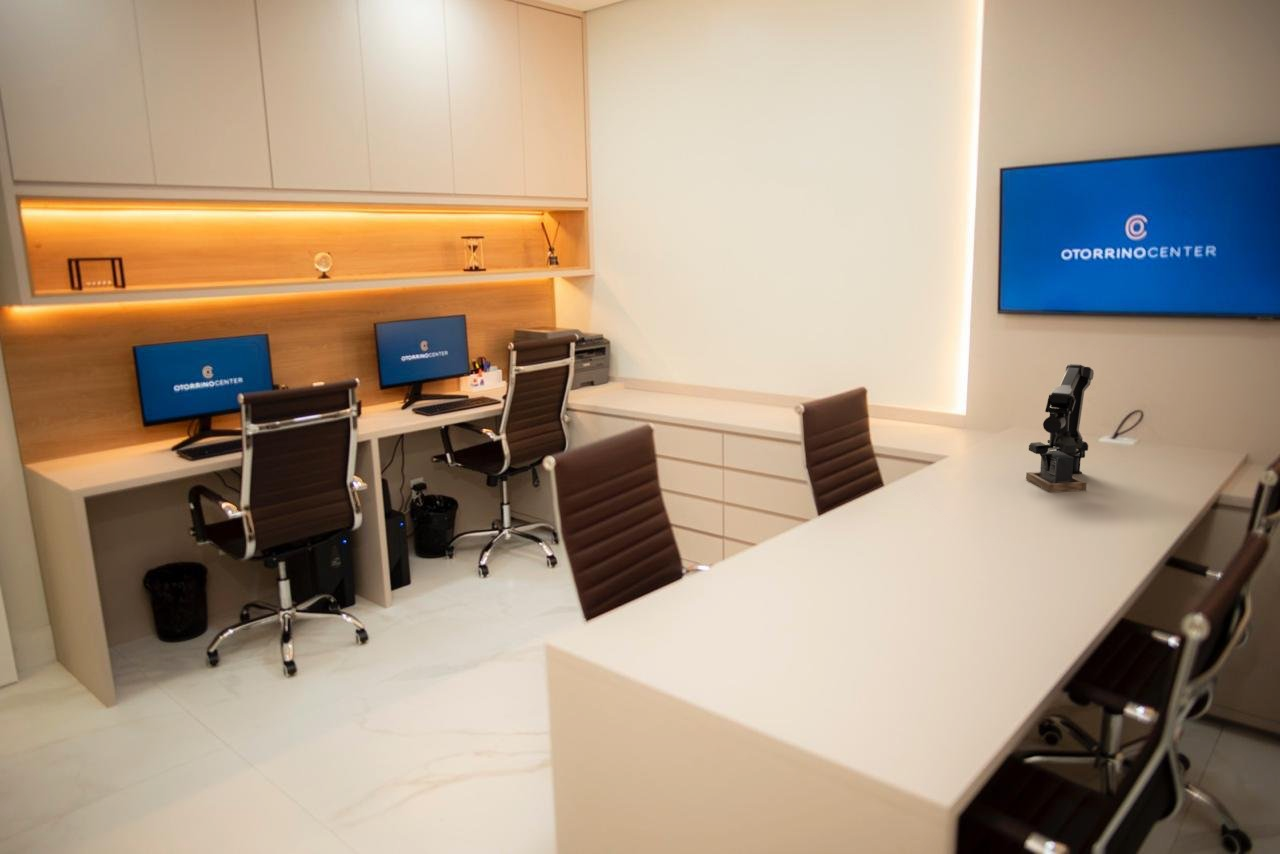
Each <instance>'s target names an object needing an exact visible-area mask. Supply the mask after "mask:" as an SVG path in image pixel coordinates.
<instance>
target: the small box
mask: <svg viewBox="0 0 1280 854" xmlns="http://www.w3.org/2000/svg"><path fill="white" fill-rule="evenodd" d="M1050 453H1051V454H1052V456H1051V458H1050V469H1049V471H1047V469H1046V466H1045V464H1044V462H1043V459H1042V457H1041V456H1040V471H1039V472H1040V478H1042V479H1044V480H1046V481H1048V482H1050V483H1069V482H1072V476H1073V474H1072V471H1073V458H1074V457H1072V456H1069V455H1067V454H1065V453H1062V452H1060V451H1057V450H1056V449H1055V450H1050Z"/></svg>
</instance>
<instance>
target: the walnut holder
mask: <svg viewBox="0 0 1280 854" xmlns="http://www.w3.org/2000/svg"><path fill="white" fill-rule="evenodd" d="M1026 479H1027V480H1026ZM1025 480H1026V481H1028V480H1029V481H1028V482H1030V481H1031V482H1030V483H1032V482H1033V483H1034V484H1033V483H1032V484H1033V485H1035V484H1036V486H1037V485H1038V486H1037V487H1039V486H1040V487H1039V488H1041V487H1042V488H1041V489H1043V490H1044V489H1045V490H1044V491H1046V490H1047V492H1048V491H1049V492H1048V493H1057V492H1058V491H1062V492H1076V491H1077V490H1079V491H1087V482H1085V481H1084V480H1082V479H1079V478H1078V477H1076V476H1073V475H1072V482H1069V483H1050V482H1048V481H1046V480H1044V479H1042V478H1040V471H1029V472H1028V471H1027V472H1026V475H1025ZM1077 492H1078V491H1077ZM1058 493H1059V492H1058Z"/></svg>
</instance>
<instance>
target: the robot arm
mask: <svg viewBox="0 0 1280 854" xmlns="http://www.w3.org/2000/svg"><path fill="white" fill-rule="evenodd" d="M1093 378H1094V370H1093V369H1092V368H1091V367H1090V366H1085V365H1082V364H1077V363H1075V364H1071V363H1070V364H1067V366H1066V367H1065V373H1064V376H1063V378H1062V380H1061V382H1060V384H1059V386H1057V387H1054V388H1053V390H1052V391H1051V392H1050V393H1049V395H1048V399H1047V401H1046V402H1047V403H1046V406H1045V410H1044V412H1045V413H1049V416H1048V417H1046V418H1045V420H1044V421H1043V423H1042V427H1043V429H1044V431H1046V433H1049V439H1048V440H1047V443H1048V444H1045V443H1043V442H1040V441H1038V442H1030V443H1029V445H1028V451H1030V452H1031V453H1033V454H1036V455H1039V456H1040V458H1041V457H1042V459H1043V462H1044V464H1045V466H1046V469H1047V471H1049V469H1050V458H1051V456H1052V454H1051V453H1050V451H1056V450H1057V451H1060V452H1062V453H1065V454H1067V455H1069V456H1072V457H1074V458H1073V471H1072V475H1078V474H1080V475H1081V474H1083V471H1081V459H1084V458H1086V452H1087V451H1089V444H1088V442H1087V441H1084V439H1083V436H1082V434H1081V432H1080V425H1081V418H1082V417H1081V416H1082V411H1083V410H1082V409H1083V401H1084V396H1085V391H1087V389H1088V388H1089V386H1090V385H1091V382H1092V380H1093Z"/></svg>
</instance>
